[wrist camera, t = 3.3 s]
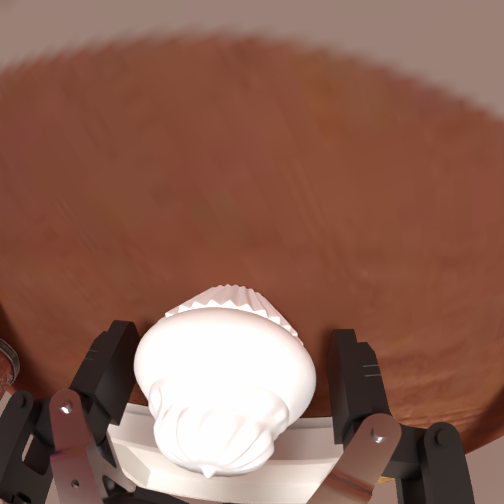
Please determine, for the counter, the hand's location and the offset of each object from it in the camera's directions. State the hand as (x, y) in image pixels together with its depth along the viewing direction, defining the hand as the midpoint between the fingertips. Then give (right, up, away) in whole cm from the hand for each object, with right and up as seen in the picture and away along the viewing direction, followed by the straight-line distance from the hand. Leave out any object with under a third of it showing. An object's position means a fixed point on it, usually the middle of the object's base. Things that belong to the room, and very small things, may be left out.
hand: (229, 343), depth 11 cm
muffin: (0, +1, +2) cm, 2 cm away
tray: (-1, -14, +10) cm, 17 cm away
